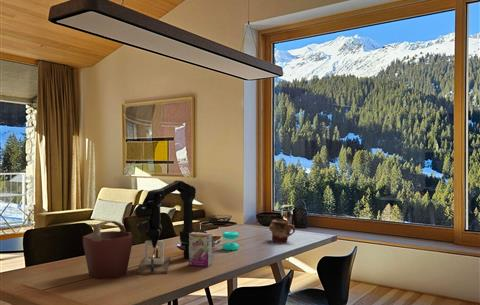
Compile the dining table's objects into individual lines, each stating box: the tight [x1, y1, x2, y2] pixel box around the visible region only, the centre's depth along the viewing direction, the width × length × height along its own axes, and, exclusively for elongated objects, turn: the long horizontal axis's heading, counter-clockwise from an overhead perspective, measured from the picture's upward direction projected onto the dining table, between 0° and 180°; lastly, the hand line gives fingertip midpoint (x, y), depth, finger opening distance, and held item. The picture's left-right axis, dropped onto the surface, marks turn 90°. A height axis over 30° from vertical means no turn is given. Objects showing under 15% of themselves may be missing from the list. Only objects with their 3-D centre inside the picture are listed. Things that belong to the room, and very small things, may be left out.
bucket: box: [82, 220, 134, 280], centre depth 208 cm, size 24×22×25 cm
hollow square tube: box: [144, 239, 165, 264], centre depth 220 cm, size 9×5×11 cm, turn 96°
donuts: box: [221, 231, 240, 251], centre depth 265 cm, size 10×10×10 cm
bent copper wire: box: [150, 245, 159, 271], centre depth 223 cm, size 1×29×9 cm, turn 6°
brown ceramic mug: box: [268, 219, 296, 243], centre depth 290 cm, size 20×12×14 cm, turn 56°
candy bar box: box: [188, 231, 213, 268], centre depth 226 cm, size 11×5×16 cm, turn 71°
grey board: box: [136, 255, 171, 275], centre depth 224 cm, size 14×31×1 cm, turn 6°
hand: (154, 246), depth 220 cm, fingers closed on hollow square tube, 3 cm apart
